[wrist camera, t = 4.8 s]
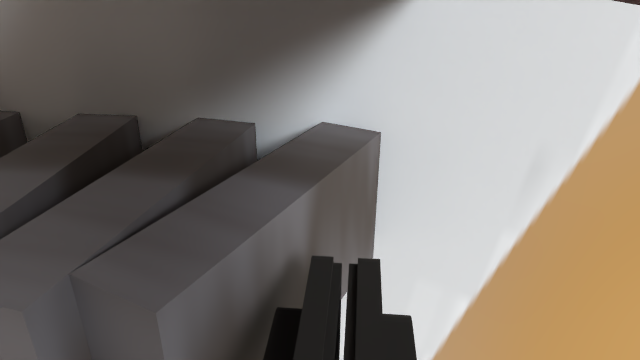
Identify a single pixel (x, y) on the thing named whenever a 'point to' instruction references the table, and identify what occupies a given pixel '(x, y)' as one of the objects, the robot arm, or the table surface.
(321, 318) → the robot arm
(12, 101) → the table surface
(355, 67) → the table surface
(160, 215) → the domino
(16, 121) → the domino
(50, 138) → the domino
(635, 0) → the supplement box
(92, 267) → the domino
